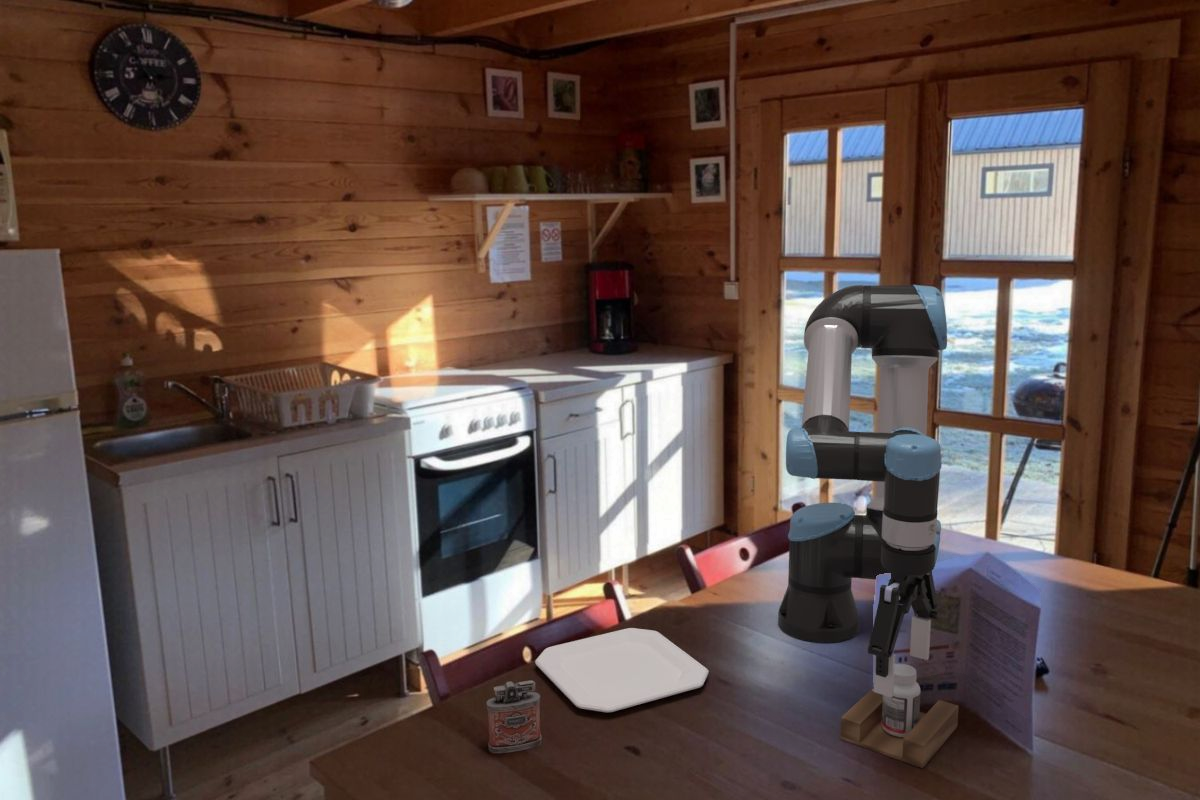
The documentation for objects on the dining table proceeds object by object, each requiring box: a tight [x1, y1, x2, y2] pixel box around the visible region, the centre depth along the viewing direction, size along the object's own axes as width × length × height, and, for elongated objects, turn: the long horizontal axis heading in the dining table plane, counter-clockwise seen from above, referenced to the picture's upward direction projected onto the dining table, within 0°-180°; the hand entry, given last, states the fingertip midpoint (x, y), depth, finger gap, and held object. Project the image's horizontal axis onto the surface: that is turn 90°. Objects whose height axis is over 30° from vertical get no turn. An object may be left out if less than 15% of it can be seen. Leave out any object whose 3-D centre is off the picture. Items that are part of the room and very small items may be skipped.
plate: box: [534, 627, 710, 713], centre depth 166 cm, size 25×25×2 cm
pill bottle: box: [882, 663, 922, 738], centre depth 145 cm, size 5×5×10 cm
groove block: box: [839, 688, 960, 769], centre depth 146 cm, size 13×14×4 cm
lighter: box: [486, 680, 543, 754], centre depth 144 cm, size 8×3×10 cm, turn 106°
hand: (901, 674), depth 145 cm, fingers open, 13 cm apart
